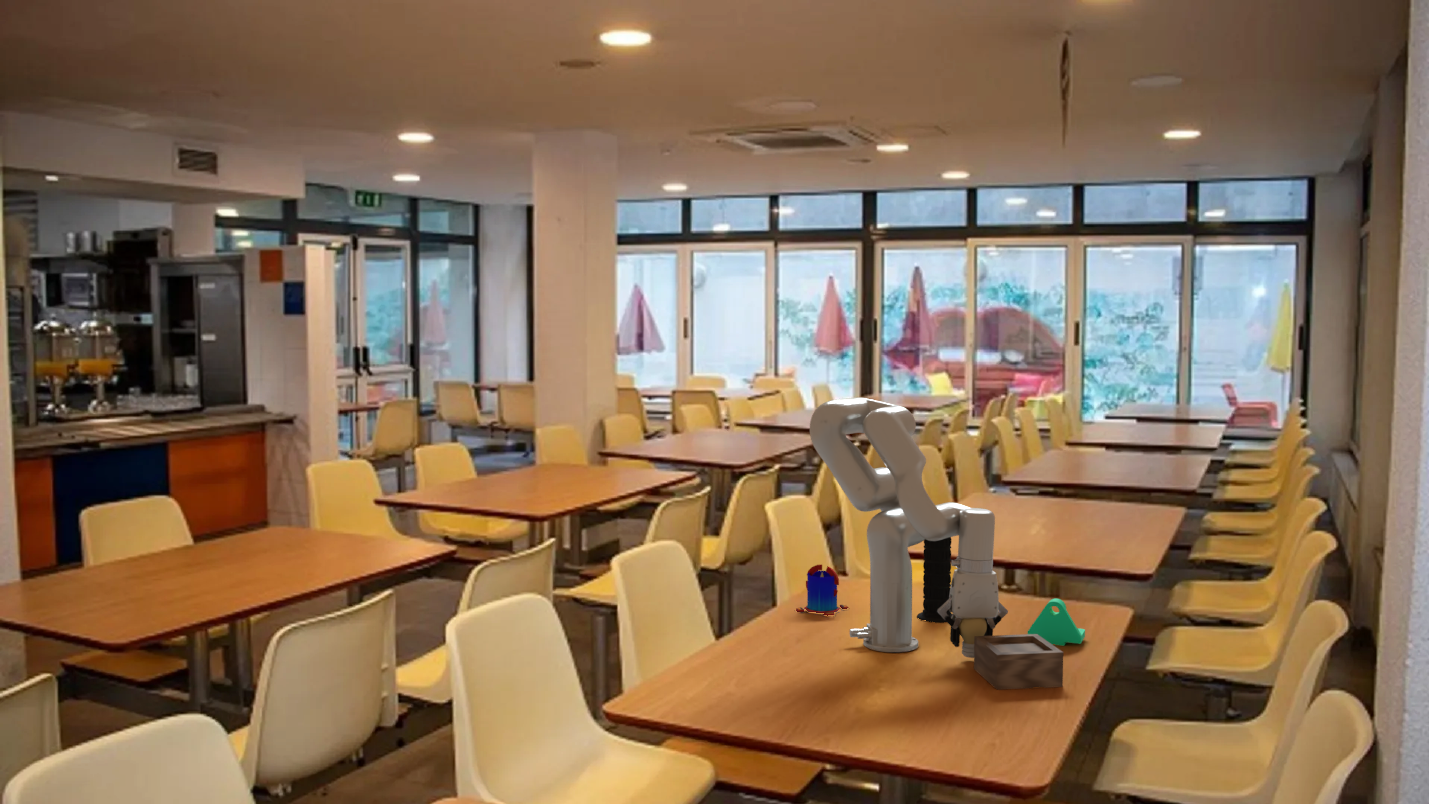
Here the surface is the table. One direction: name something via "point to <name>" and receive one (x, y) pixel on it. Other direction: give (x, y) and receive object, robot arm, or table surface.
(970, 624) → the light bulb
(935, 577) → the handle grip
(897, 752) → the table surface
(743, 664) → the table surface
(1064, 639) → the camera mount
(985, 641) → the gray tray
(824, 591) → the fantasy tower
